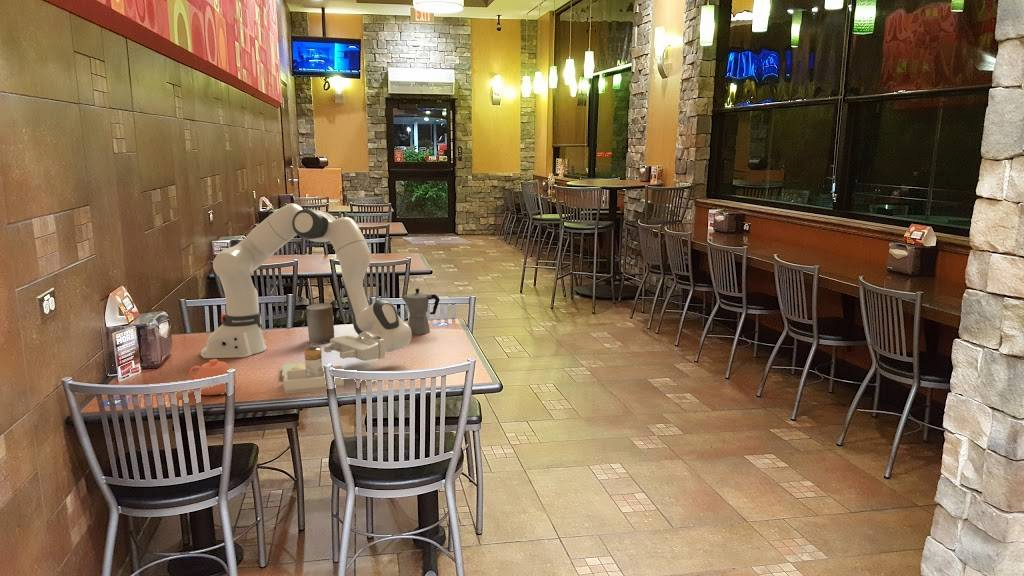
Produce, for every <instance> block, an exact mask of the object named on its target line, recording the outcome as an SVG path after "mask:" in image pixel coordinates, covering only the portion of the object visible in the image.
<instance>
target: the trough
mask: <svg viewBox="0 0 1024 576" xmlns="http://www.w3.org/2000/svg"><path fill="white" fill-rule="evenodd" d="M323 367H324V366H322V375H323V377H315V378H306V369H297V370H286V371H285V375H284V380H283V385H284V394H295V393H297V394H298V393H306V392H313V391H314V392H316V391H325V390H326V384H325V377H324V371H323ZM333 368H335V369H342V370H343V365H334V366H333ZM344 380H345V379H341V378H335V385H336V388H337V389H345V381H344ZM337 389H336V390H337ZM326 391H327V390H326Z"/></svg>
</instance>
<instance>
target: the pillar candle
mask: <svg viewBox="0 0 1024 576" xmlns="http://www.w3.org/2000/svg"><path fill="white" fill-rule="evenodd" d="M333 310H334V309H333V304H330V303H325V302H324V303H323V302H322V303H321V302H319V303H315V304H310V305H308V306H306V317H307V318H306V319H307V331H308V340H309V341H310V342H309V341H308V342H309V343H312V344H315V343H321V344H326V343H330V339H332V338H335V328H334V327H335V326H334V312H333Z"/></svg>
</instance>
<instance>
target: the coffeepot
mask: <svg viewBox="0 0 1024 576" xmlns="http://www.w3.org/2000/svg"><path fill="white" fill-rule="evenodd" d="M400 298H401V299H402V300H403V301H404V302H405V304H406V305H407V310H408V311H407V312H408V313H409V316H408V323H407V325H409V327H410V329H411V333H412V334H416V335H415V336H420V335H419V334H423V335H427V334H429V333H430V332H431V330H430V325H429V320H428V315H427V313H428V310H429V309H428V308H429V300H435V301H434V302H433V303H434V305H433V307H432V311H430V312H429V314H430V315H436V311H437V309H438V306H439V302H440V297H439V296H438V295H437V294H431V293H430V294H427V293H422V292H420V288H415V292H413V293H410V294H406V295H405V294H404V295H402V296H401V297H400ZM428 332H429V333H428ZM426 333H427V334H426Z"/></svg>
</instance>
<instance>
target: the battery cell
mask: <svg viewBox="0 0 1024 576" xmlns="http://www.w3.org/2000/svg"><path fill="white" fill-rule="evenodd" d="M303 352H304V354H303V355H304V363H305V369H306V378H315V377H323V375H322V367H323V363H322V361H323V360H322V358H323V357H322V347H320V346H317V345H316V344H310V345H309V346H307V347H305V348H304V349H303Z"/></svg>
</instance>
